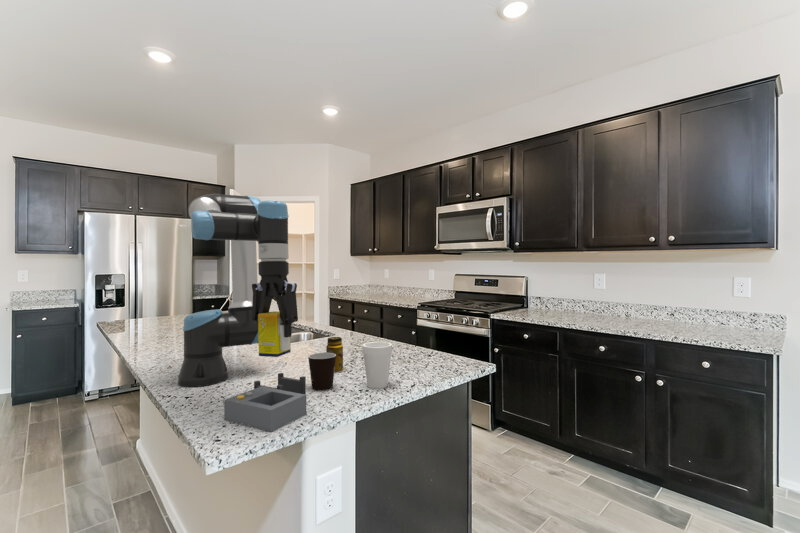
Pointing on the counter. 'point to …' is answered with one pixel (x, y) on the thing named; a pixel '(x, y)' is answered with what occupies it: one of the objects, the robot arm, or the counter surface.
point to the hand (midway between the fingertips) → (274, 348)
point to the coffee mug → (322, 370)
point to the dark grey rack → (287, 384)
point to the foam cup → (377, 363)
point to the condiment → (336, 352)
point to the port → (265, 408)
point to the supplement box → (270, 334)
